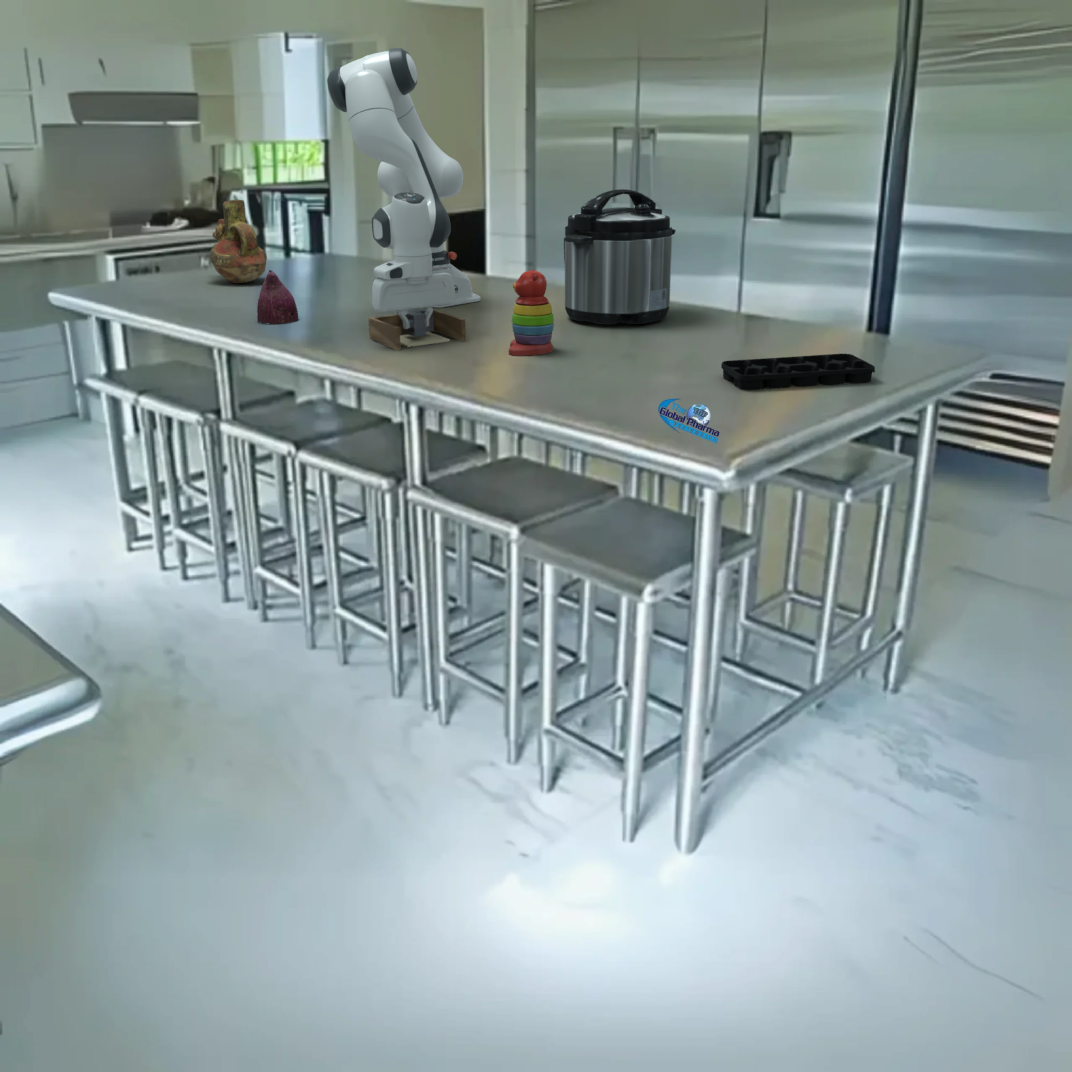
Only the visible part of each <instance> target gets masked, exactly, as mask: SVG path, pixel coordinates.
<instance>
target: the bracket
mask: <svg viewBox="0 0 1072 1072" xmlns="http://www.w3.org/2000/svg"><path fill="white" fill-rule="evenodd" d="M405 316H406V318H407V319H408V320H410V321H412V328H411V329H404V328H403V321H402V319H401V328H402V332H403V333H405V334H408V335H411V336H413V337H419V336H426V332H429V331H432V332H435V331H434V326H433V312H432V314H431V316H430V318H429V326H427V327H426V318H425V311H424V308H417V309H408V310H407V314H406V315H405Z"/></svg>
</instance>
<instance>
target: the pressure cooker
mask: <svg viewBox="0 0 1072 1072" xmlns="http://www.w3.org/2000/svg"><path fill="white" fill-rule="evenodd" d="M621 195H628V196H629V198H630V199H631V202H632V204H633V205H634V207H626V206H625V207H618V206H617V207H608V208H605V207H606V205H607V204H608V203H609V201H610V200H611V199H612V198H614V197H617V196H621ZM656 206H657V203H656V202H655V201H654V200H653V199H651V198H650V197H649V196H647V195H646V194H644V193H642V192H638V191H636V190H632V189H623V188H622V189H613V190H608V191H605V192H602V193H600V194H597V195H596V196H594V197H592V198H591V199H590V200H589V201H587V202H586V203H584V204H583V205H582V206H581V207H580V212H579V213H575V214H570V215H569V216H568V217H567V225H566V226H565V227H564V238H563V259H564V260H563V261H564V309H565V311H566V314H567V316H568V318H570V319H571V320H575V321H578V322H584V321H585V322H588V323H592V324H598V325H617V324H618V323H619V324H620V323H621V324H629V325H630V324H631V325H633V324H634V325H635V324H636V325H637V324H638V325H639V324H641V325H644V324H649V323H656V322H659V321H661V320H663V319H665V318H666V316H667V314H668V313H669V310H670V306H671V302H670V301H671V274H672V252H673V251H672V250H673V249H672V248H673V236H674V235H675V233H676V229H674V228H673V227H672V226H671V217H670V216H669V215H665V214H663V210H662V208H656Z"/></svg>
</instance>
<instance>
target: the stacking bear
mask: <svg viewBox="0 0 1072 1072" xmlns="http://www.w3.org/2000/svg"><path fill="white" fill-rule="evenodd" d="M547 283H548V281H547V278H546V276H545V275H544V274H543V273H542V272H540V271H537V270H534V269H530V270H527V271H524V272H522V273H521V275H520V276H519V278H518V279H517V280H516V281H515V282H514V283H513V285H512V288H513V289H514V290H513V291H514V293H516V294H517V295H518V297H517V298H516V299H515V303H514V307H513V313H512V318H511V319H512V320H511V324H512V325H511V326H512V332H513V336H514V339H512V341H511V342H510V343H509V348H508V355H510V356H515V357H516V356H518V357H519V356H520V357H522V356H523V357H524V356H539V355H544V354H549V353H551V352H553V350H554V347H553V343H552V341H551V340H552V336H553V331H554V325H555V323H554V322H555V321H554V313H553V309H552V303H551V302H549V299H548V298H547V297H546V296H545V293H546V292H547V291H546V290H547V285H548V284H547Z"/></svg>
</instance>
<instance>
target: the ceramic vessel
mask: <svg viewBox="0 0 1072 1072" xmlns="http://www.w3.org/2000/svg"><path fill="white" fill-rule="evenodd" d="M222 209H223V218H219V219H218V220H217V225H216V226H215V231H214V232H213V233H212V237H213V238H214V239H215V240H216V243H214V244H213V246H212V247H211V249H210V253H209V259H210V261H211V263H212V265H213V268H214V269H215V271H216V272H217V273H218V274H219V275H220V276H221V277H223V278H224V279H226V280H227V281H229V282H231V283H232V284H245V283H250V282H252V281H255V280H256V279H259V278H260V277H261V276H262V275H263V274H264V273H265V271H266V268H267V267H266V265H267V258H268V257H267V253H266V252H265V250H264V249H263V248H261V247H260V246H259V242H258V237H257V235H256V232H255V230H254V228H253V226H251V225H250V224H249V223H246V205H245V200H243V199H231V200H229V201H227V200H226V201H224V202H223V204H222Z"/></svg>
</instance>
